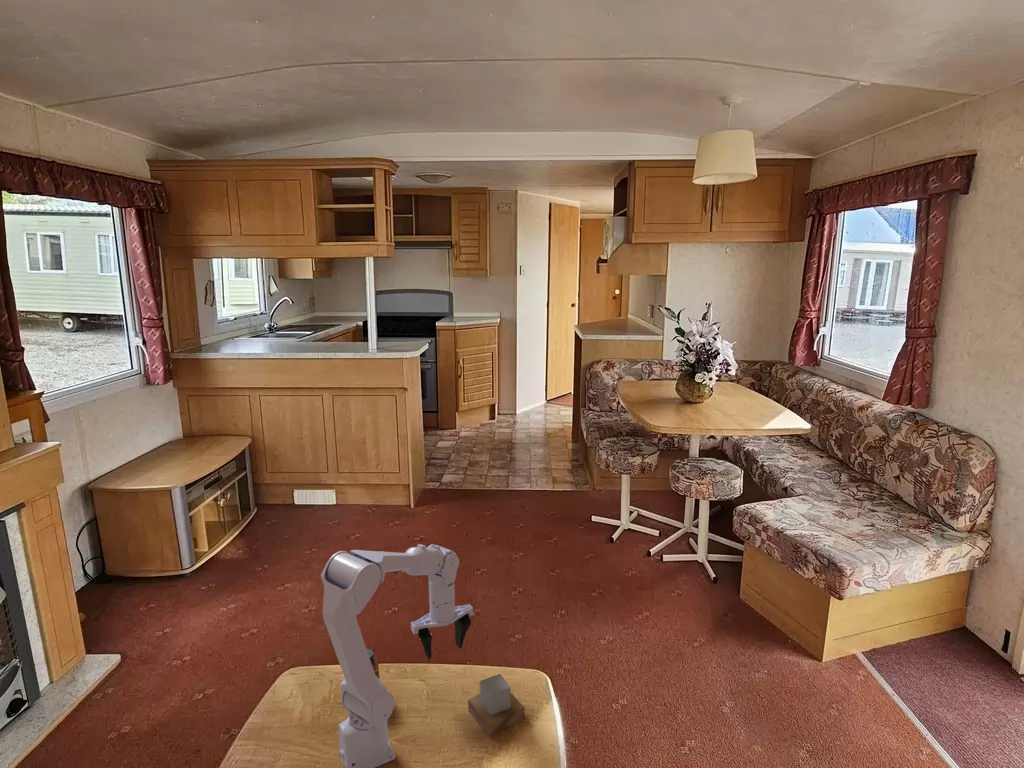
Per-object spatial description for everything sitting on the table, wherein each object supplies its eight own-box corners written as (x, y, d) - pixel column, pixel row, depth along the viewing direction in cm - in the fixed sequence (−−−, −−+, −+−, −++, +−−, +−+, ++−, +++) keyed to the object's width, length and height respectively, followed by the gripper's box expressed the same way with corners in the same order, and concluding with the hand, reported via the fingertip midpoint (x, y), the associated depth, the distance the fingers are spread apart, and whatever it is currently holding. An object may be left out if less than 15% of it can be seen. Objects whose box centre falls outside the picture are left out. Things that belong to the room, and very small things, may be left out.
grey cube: (489, 715, 126) (489, 695, 125) (480, 700, 130) (479, 680, 129) (510, 707, 128) (510, 687, 127) (500, 693, 132) (500, 673, 131)
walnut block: (489, 739, 124) (489, 725, 123) (468, 712, 131) (468, 699, 130) (524, 721, 129) (524, 707, 128) (502, 696, 136) (502, 683, 135)
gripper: (463, 580, 140) (464, 631, 142) (405, 598, 133) (407, 651, 135) (476, 595, 134) (477, 648, 136) (416, 613, 127) (418, 669, 129)
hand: (443, 650), depth 136 cm, fingers open, 7 cm apart
